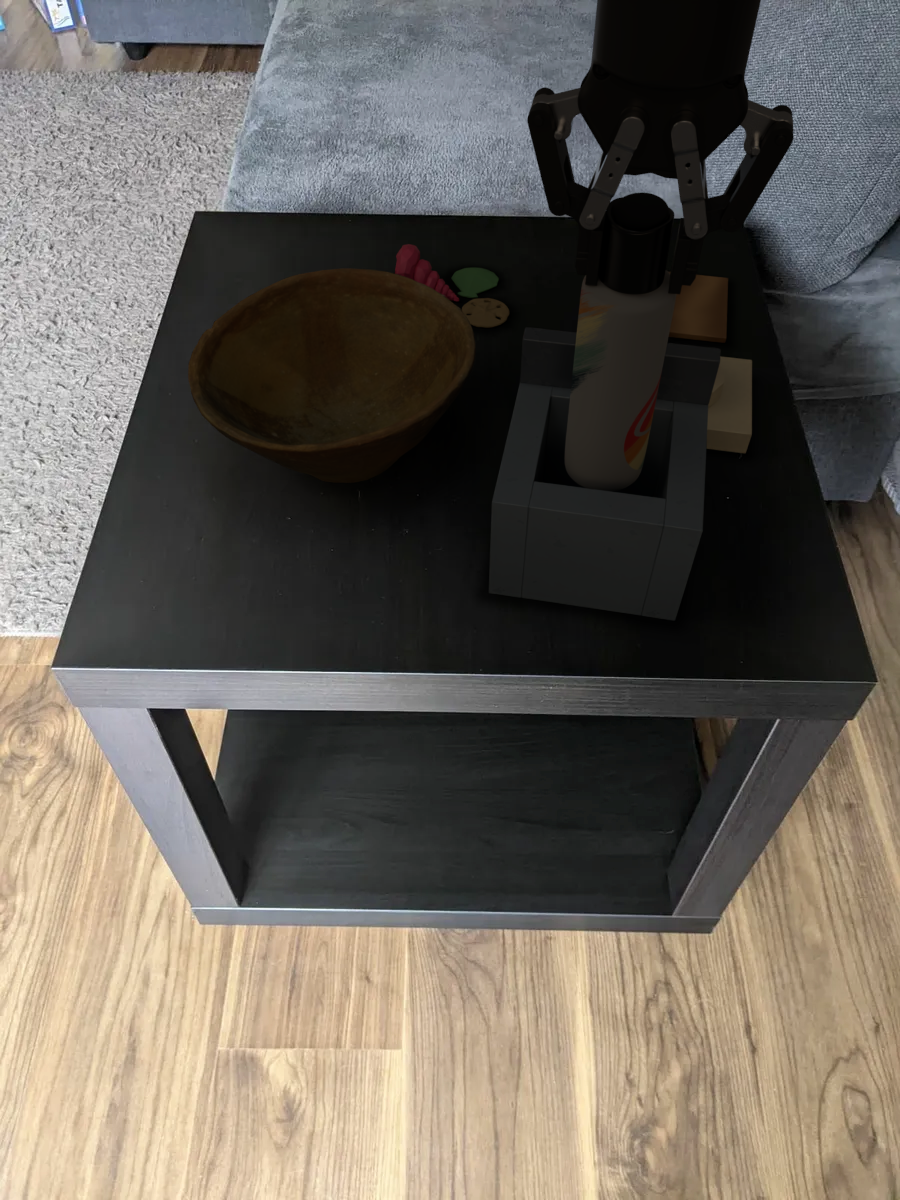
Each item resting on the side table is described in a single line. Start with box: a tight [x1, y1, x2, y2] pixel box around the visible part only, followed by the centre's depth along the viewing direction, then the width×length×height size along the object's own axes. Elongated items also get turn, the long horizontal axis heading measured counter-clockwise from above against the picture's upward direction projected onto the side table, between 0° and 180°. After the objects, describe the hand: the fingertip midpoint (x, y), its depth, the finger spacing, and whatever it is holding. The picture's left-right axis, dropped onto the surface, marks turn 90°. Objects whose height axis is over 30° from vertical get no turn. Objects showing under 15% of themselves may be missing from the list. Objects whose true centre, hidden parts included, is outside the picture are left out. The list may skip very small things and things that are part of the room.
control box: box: [706, 355, 753, 454], centre depth 82 cm, size 12×10×4 cm
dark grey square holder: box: [488, 326, 722, 622], centre depth 68 cm, size 14×14×14 cm
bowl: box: [187, 267, 477, 484], centre depth 77 cm, size 22×23×10 cm
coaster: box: [668, 271, 729, 344], centre depth 92 cm, size 10×10×1 cm
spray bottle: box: [565, 192, 676, 492], centre depth 60 cm, size 6×6×20 cm
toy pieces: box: [394, 243, 510, 329], centre depth 92 cm, size 12×11×4 cm
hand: (633, 281), depth 56 cm, fingers closed on spray bottle, 4 cm apart
